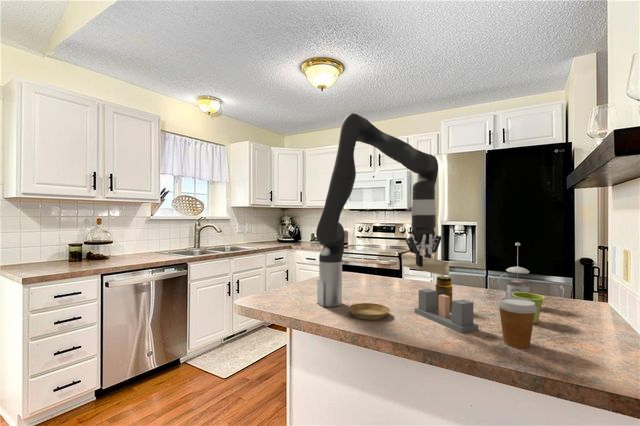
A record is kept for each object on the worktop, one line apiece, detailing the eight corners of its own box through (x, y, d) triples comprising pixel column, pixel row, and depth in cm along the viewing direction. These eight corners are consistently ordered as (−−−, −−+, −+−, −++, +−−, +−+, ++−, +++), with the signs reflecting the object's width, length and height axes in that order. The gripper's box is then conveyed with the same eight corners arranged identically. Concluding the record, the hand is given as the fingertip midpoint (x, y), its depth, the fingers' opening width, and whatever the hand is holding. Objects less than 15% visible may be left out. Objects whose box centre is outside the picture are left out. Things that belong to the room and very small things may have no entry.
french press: (535, 309, 124) (535, 244, 124) (501, 306, 128) (501, 243, 128) (528, 302, 133) (528, 241, 133) (496, 300, 137) (496, 240, 137)
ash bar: (442, 275, 98) (442, 262, 98) (401, 265, 116) (401, 254, 116) (449, 274, 99) (449, 261, 99) (407, 265, 117) (407, 254, 117)
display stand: (461, 333, 100) (461, 305, 100) (414, 312, 120) (414, 289, 120) (478, 329, 102) (478, 302, 102) (429, 310, 123) (429, 287, 123)
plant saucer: (341, 312, 121) (341, 305, 121) (375, 307, 127) (375, 301, 127) (361, 324, 107) (361, 316, 107) (398, 319, 113) (398, 311, 113)
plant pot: (539, 318, 114) (539, 293, 114) (548, 327, 105) (548, 300, 105) (509, 315, 117) (509, 291, 117) (515, 323, 108) (515, 297, 108)
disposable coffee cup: (490, 337, 96) (490, 297, 96) (520, 336, 97) (520, 296, 97) (511, 351, 86) (512, 306, 86) (545, 350, 87) (545, 305, 87)
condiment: (457, 309, 124) (457, 278, 124) (443, 313, 120) (443, 280, 120) (440, 304, 130) (440, 274, 130) (426, 308, 126) (427, 277, 126)
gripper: (432, 213, 113) (432, 263, 113) (399, 213, 108) (399, 265, 108) (448, 213, 107) (448, 266, 107) (413, 213, 101) (413, 269, 101)
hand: (423, 265), depth 107 cm, fingers closed on ash bar, 2 cm apart
